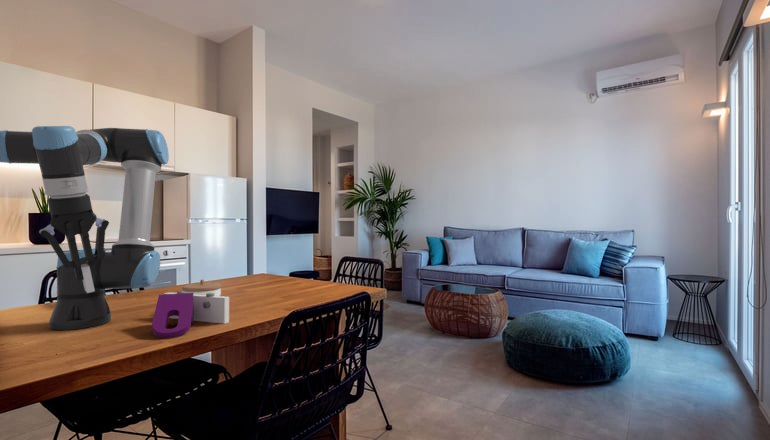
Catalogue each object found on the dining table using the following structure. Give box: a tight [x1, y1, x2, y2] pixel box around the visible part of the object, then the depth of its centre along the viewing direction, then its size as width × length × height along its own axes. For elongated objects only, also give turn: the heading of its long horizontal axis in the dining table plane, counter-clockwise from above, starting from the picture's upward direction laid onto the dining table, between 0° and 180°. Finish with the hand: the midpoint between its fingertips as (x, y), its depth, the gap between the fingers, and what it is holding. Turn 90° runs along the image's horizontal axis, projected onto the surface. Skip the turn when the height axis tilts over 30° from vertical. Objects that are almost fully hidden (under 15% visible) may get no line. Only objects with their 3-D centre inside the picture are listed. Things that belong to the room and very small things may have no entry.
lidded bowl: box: [181, 279, 222, 296], centre depth 136 cm, size 13×13×11 cm
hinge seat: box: [162, 290, 230, 325], centre depth 123 cm, size 25×3×9 cm, turn 71°
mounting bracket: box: [151, 293, 194, 339], centre depth 112 cm, size 10×8×18 cm
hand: (89, 290), depth 93 cm, fingers closed
